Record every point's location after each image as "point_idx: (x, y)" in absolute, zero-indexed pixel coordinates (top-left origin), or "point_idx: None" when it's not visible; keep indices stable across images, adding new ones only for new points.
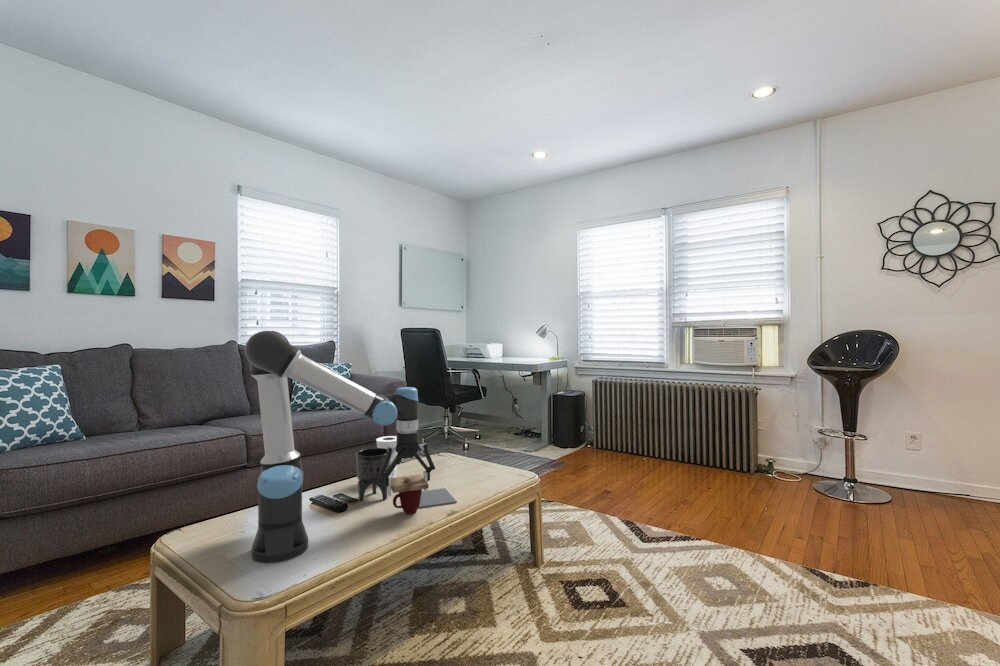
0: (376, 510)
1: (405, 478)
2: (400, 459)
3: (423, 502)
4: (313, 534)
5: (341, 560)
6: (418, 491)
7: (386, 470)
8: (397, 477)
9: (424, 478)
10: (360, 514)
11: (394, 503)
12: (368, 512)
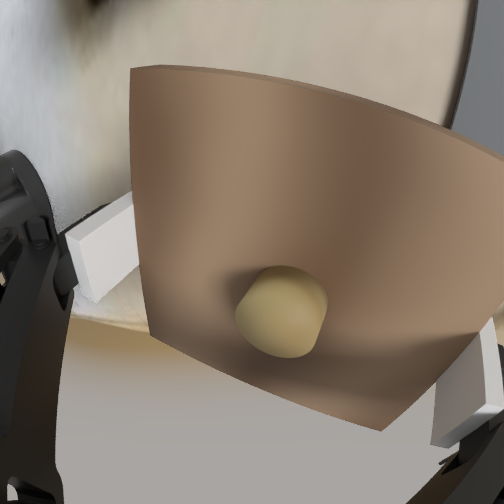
0: (216, 34)
1: (242, 333)
2: (58, 493)
3: (493, 120)
4: (48, 155)
5: (111, 310)
6: None
7: (18, 270)
8: (236, 82)
9: (453, 369)
10: (147, 53)
11: None
12: (178, 43)
